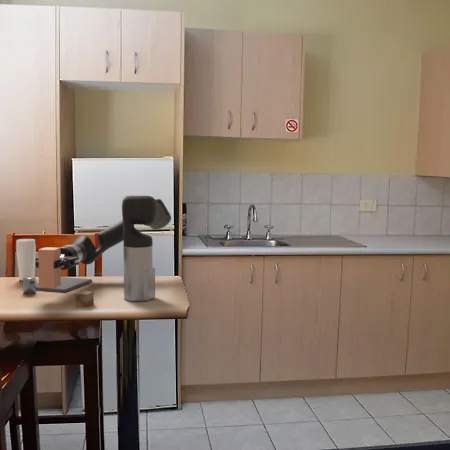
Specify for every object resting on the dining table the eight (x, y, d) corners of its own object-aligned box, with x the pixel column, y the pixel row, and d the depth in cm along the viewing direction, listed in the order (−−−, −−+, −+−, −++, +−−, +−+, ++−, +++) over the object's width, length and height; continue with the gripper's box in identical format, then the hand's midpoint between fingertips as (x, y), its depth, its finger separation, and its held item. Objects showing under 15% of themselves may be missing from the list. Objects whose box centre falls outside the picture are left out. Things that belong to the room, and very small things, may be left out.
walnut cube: (93, 304, 169) (93, 291, 169) (87, 307, 165) (86, 294, 165) (82, 303, 170) (81, 290, 170) (75, 306, 166) (75, 293, 166)
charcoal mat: (92, 281, 202) (92, 279, 201) (65, 292, 184) (64, 289, 184) (58, 279, 205) (58, 276, 205) (29, 289, 188) (29, 286, 188)
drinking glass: (16, 281, 200) (15, 241, 199) (18, 278, 207) (16, 238, 205) (35, 281, 202) (34, 240, 201) (37, 277, 209) (35, 238, 207)
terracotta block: (60, 285, 174) (60, 247, 173) (54, 288, 169) (53, 249, 168) (45, 284, 175) (45, 247, 173) (38, 287, 170) (38, 249, 168)
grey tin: (38, 291, 185) (37, 277, 184) (31, 294, 181) (30, 279, 181) (28, 291, 186) (27, 276, 185) (20, 293, 182) (20, 278, 182)
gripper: (88, 268, 185) (68, 277, 168) (47, 266, 186) (23, 276, 170) (88, 246, 184) (67, 253, 167) (47, 245, 186) (23, 252, 169)
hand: (45, 265), depth 168 cm, fingers closed on terracotta block, 5 cm apart
